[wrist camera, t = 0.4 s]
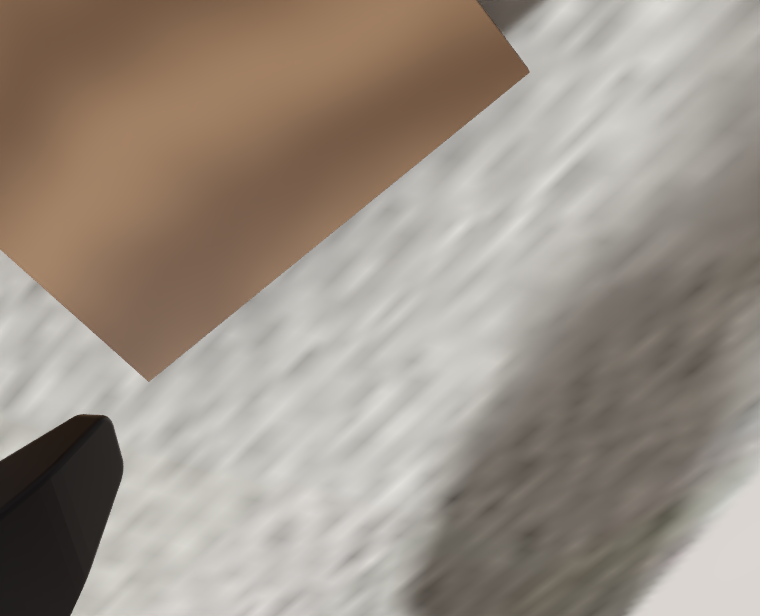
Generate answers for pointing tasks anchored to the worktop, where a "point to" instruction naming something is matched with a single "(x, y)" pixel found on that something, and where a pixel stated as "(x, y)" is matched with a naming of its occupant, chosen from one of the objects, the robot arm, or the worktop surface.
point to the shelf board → (215, 142)
